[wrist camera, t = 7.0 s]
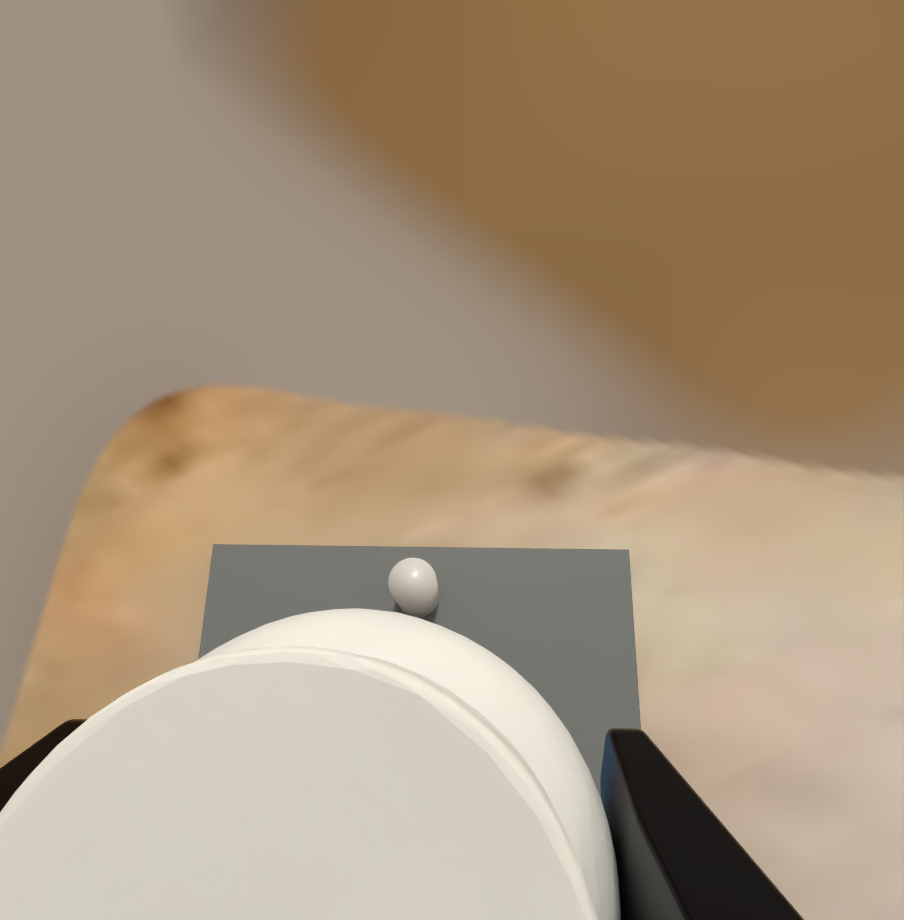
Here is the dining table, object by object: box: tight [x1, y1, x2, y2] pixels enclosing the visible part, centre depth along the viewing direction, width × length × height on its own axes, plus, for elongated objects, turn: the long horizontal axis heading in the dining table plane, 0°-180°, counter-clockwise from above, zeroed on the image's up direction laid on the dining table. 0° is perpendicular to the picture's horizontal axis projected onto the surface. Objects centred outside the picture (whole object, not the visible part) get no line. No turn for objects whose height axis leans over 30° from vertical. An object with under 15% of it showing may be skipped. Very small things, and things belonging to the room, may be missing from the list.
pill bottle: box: [0, 608, 621, 920], centre depth 10 cm, size 6×6×11 cm
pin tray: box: [199, 544, 641, 798], centre depth 18 cm, size 12×12×4 cm
